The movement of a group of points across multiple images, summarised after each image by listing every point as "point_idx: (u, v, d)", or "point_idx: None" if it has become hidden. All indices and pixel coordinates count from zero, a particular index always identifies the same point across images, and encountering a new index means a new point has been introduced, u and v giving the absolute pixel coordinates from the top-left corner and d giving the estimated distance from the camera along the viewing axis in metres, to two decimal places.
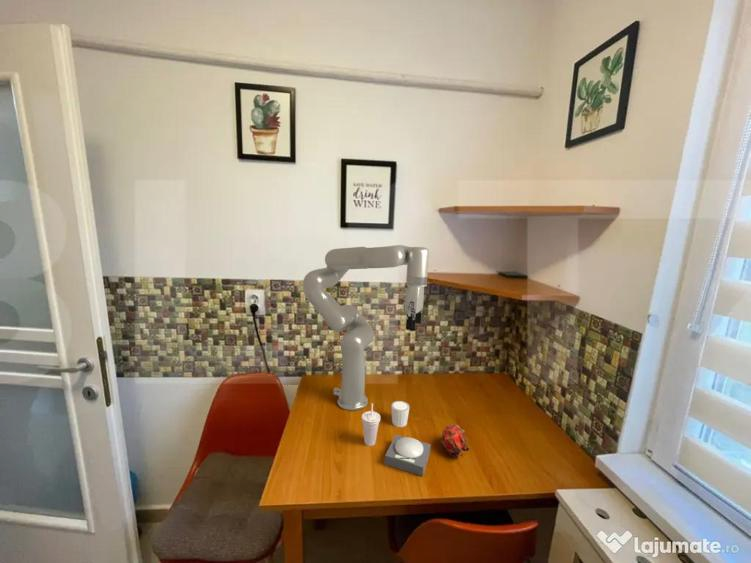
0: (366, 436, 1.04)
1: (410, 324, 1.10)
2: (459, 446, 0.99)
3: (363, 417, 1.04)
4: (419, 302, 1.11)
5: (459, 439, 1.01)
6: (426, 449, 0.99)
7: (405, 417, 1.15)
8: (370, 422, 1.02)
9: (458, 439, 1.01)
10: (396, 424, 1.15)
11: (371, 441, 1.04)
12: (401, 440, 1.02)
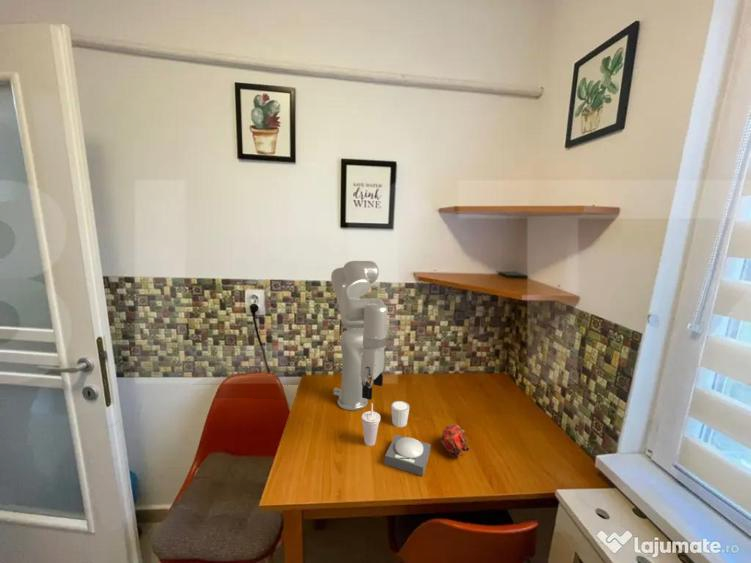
0: (366, 436, 1.04)
1: (366, 392, 0.97)
2: (459, 446, 0.99)
3: (363, 417, 1.04)
4: (376, 367, 0.98)
5: (459, 439, 1.01)
6: (426, 449, 0.99)
7: (405, 417, 1.15)
8: (370, 422, 1.02)
9: (458, 439, 1.01)
10: (396, 424, 1.15)
11: (371, 441, 1.04)
12: (401, 440, 1.02)
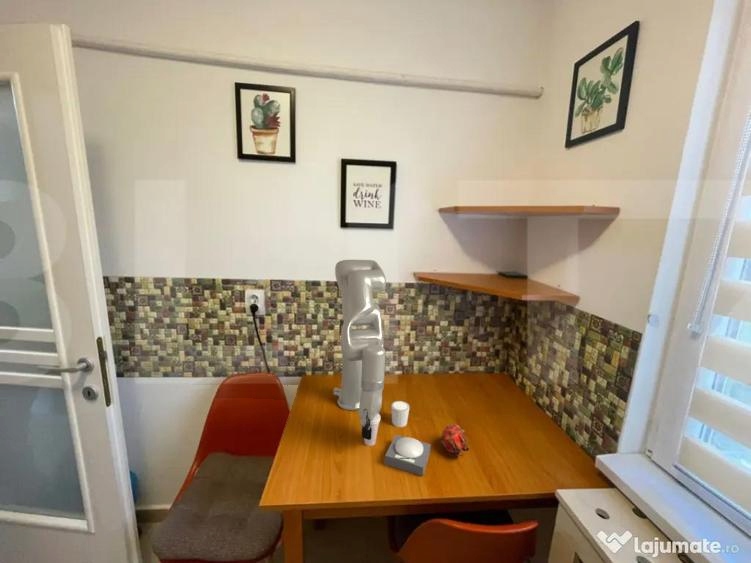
0: None
1: (366, 433, 1.01)
2: (459, 446, 0.99)
3: None
4: (374, 408, 1.00)
5: (459, 439, 1.01)
6: (426, 449, 0.99)
7: (405, 417, 1.15)
8: None
9: (458, 439, 1.01)
10: (396, 424, 1.15)
11: (371, 441, 1.04)
12: (401, 440, 1.02)
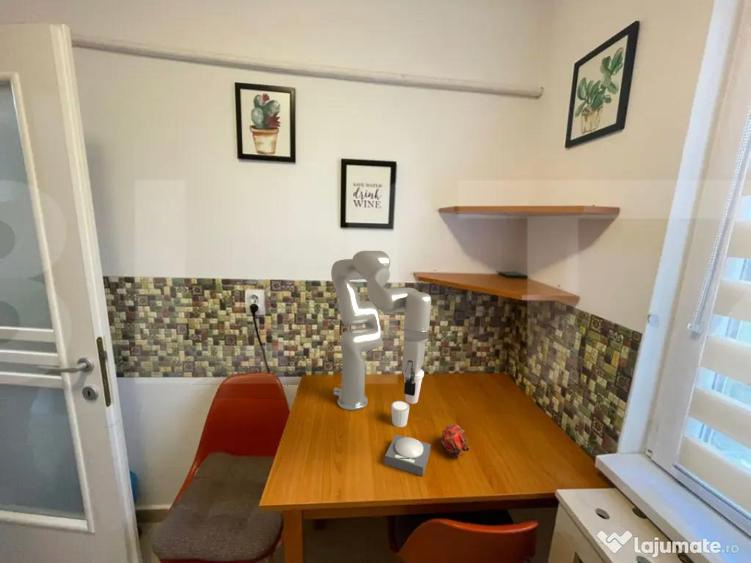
0: None
1: (409, 388, 0.92)
2: (459, 446, 0.99)
3: (405, 372, 0.94)
4: (419, 360, 0.91)
5: (459, 439, 1.01)
6: (426, 449, 0.99)
7: (405, 417, 1.15)
8: None
9: (458, 439, 1.01)
10: (396, 424, 1.15)
11: (414, 398, 0.95)
12: (401, 440, 1.02)
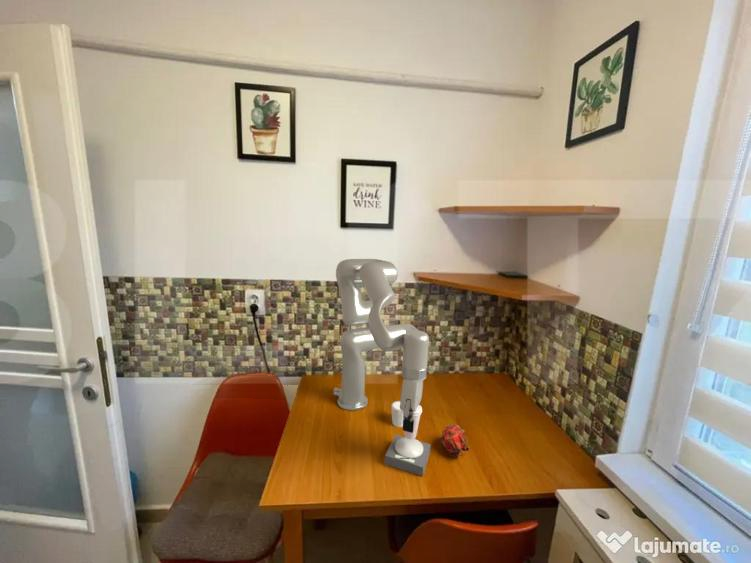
0: None
1: (408, 426, 0.93)
2: (459, 446, 0.99)
3: (404, 408, 0.96)
4: (417, 399, 0.93)
5: (459, 439, 1.01)
6: (426, 449, 0.99)
7: None
8: None
9: (458, 439, 1.01)
10: (396, 424, 1.15)
11: (412, 434, 0.96)
12: (401, 440, 1.02)
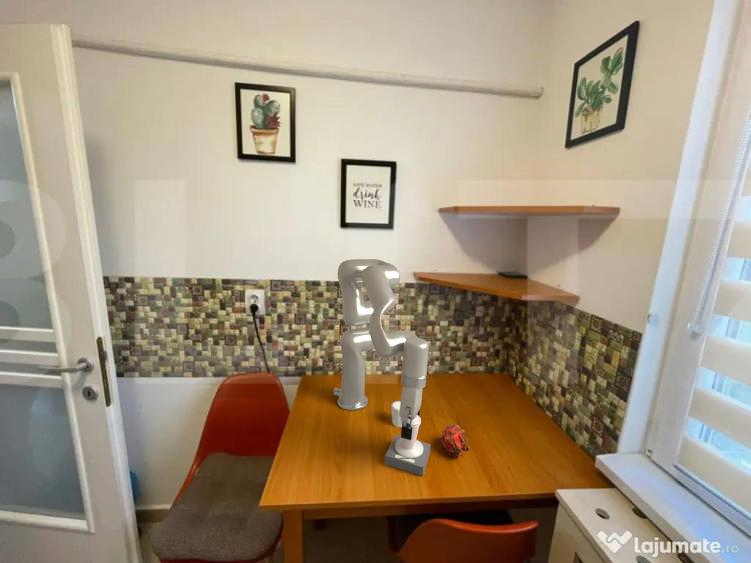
0: (405, 439, 0.97)
1: (406, 433, 0.92)
2: (459, 446, 0.99)
3: (402, 419, 0.97)
4: (417, 406, 0.93)
5: (459, 439, 1.01)
6: (426, 449, 0.99)
7: None
8: None
9: (458, 439, 1.01)
10: (396, 424, 1.15)
11: (411, 445, 0.97)
12: (401, 440, 1.02)
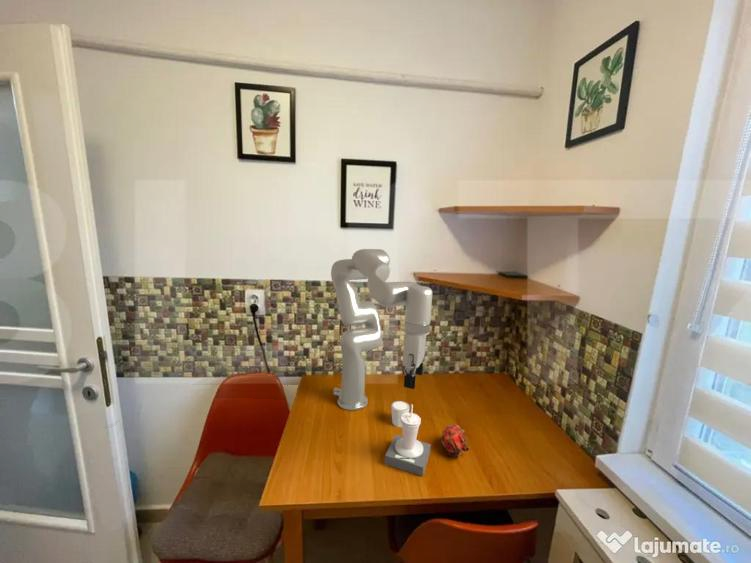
0: (405, 439, 0.97)
1: (409, 381, 0.90)
2: (459, 446, 0.99)
3: (402, 419, 0.97)
4: (420, 354, 0.91)
5: (459, 439, 1.01)
6: (426, 449, 0.99)
7: None
8: (410, 425, 0.95)
9: (458, 439, 1.01)
10: (396, 424, 1.15)
11: (411, 445, 0.97)
12: (401, 440, 1.02)
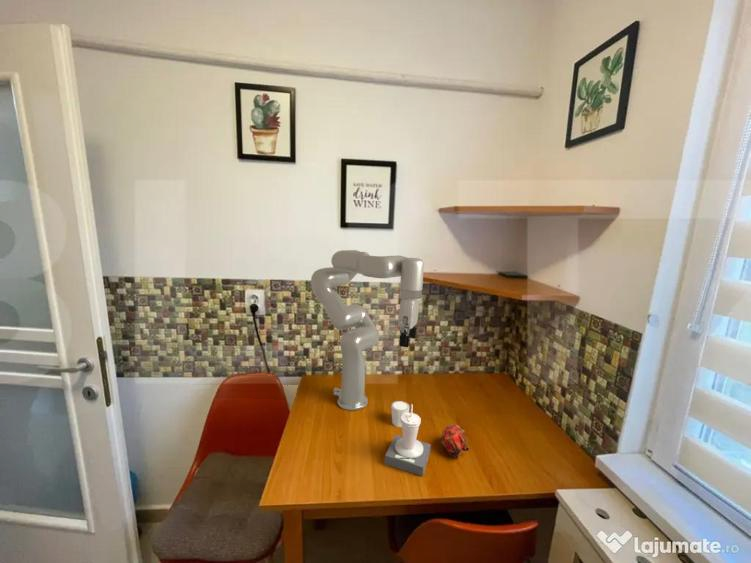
0: (405, 439, 0.97)
1: (404, 340, 1.03)
2: (459, 446, 0.99)
3: (402, 419, 0.97)
4: (413, 317, 1.04)
5: (459, 439, 1.01)
6: (426, 449, 0.99)
7: None
8: (410, 425, 0.95)
9: (458, 439, 1.01)
10: (396, 424, 1.15)
11: (411, 445, 0.97)
12: (401, 440, 1.02)
